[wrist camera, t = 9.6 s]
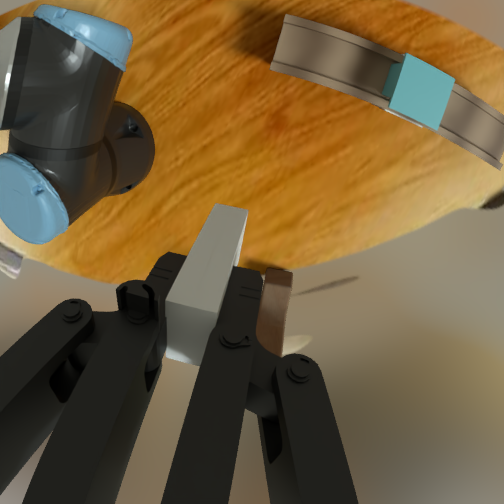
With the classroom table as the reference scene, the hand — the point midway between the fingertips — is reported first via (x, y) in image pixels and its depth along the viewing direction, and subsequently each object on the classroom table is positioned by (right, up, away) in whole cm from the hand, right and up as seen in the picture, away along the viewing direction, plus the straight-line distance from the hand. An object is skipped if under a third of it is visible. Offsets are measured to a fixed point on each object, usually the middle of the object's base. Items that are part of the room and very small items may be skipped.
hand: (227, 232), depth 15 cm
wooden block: (+5, -7, +41) cm, 42 cm away
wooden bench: (+20, +21, +20) cm, 36 cm away
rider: (+19, +18, +14) cm, 30 cm away
